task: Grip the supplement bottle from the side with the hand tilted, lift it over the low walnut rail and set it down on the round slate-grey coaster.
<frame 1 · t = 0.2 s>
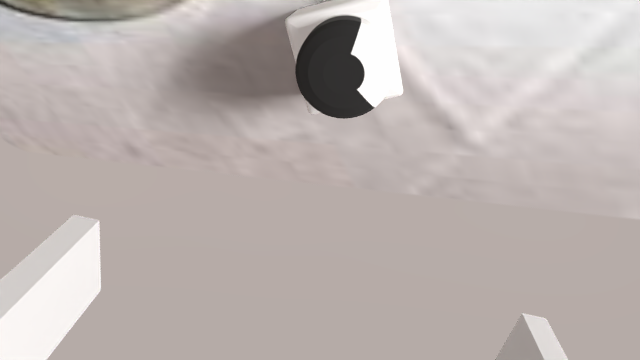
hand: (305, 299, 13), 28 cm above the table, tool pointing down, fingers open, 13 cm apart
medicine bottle: (347, 42, 37), on the table
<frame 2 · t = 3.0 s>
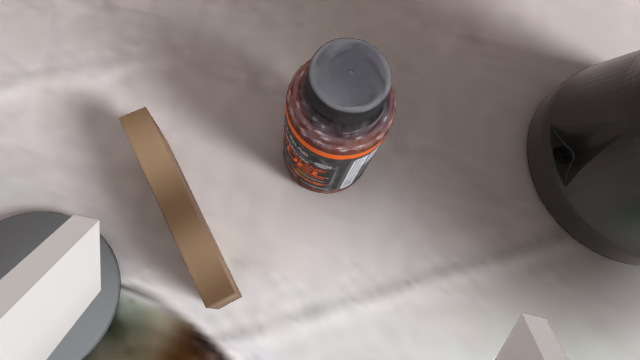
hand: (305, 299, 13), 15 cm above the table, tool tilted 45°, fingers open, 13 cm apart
rail: (191, 219, 29), on the table
supplement bottle: (324, 157, 31), on the table
coaster: (35, 294, 26), on the table
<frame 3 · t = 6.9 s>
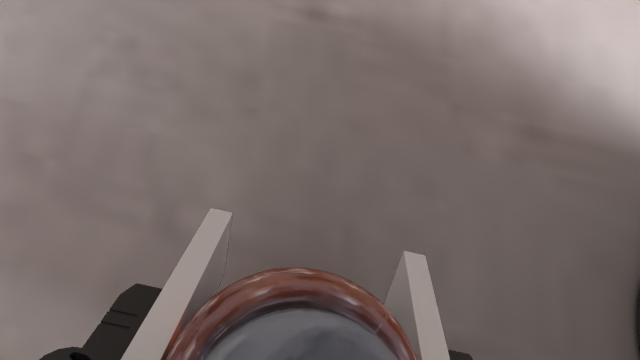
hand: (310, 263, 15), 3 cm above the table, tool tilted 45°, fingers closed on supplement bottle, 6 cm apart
when the fingers open (5 cm above the table, at t = 12.0 s): supplement bottle drops 1 cm, resting on coaster.
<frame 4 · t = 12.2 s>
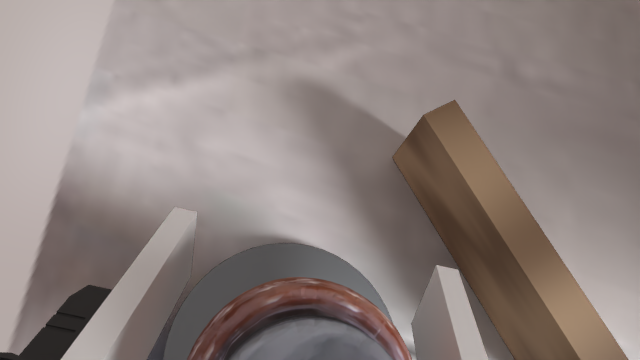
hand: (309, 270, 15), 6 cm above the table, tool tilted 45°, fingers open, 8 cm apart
rail: (467, 252, 21), on the table
coaster: (284, 359, 19), on the table
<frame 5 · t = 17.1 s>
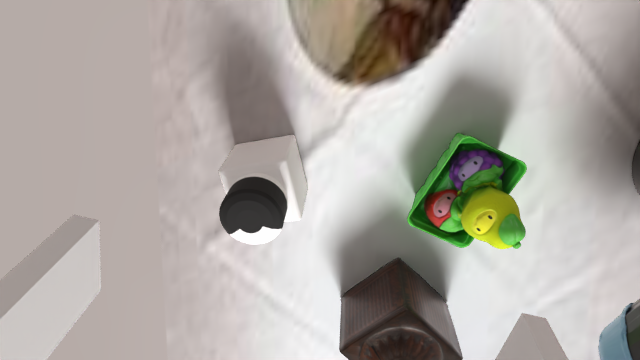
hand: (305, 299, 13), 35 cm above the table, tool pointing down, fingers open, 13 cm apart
fruit basket: (458, 175, 49), on the table
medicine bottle: (272, 166, 50), on the table
pepper mill: (404, 311, 59), on the table
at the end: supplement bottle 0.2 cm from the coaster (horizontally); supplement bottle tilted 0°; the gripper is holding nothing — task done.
